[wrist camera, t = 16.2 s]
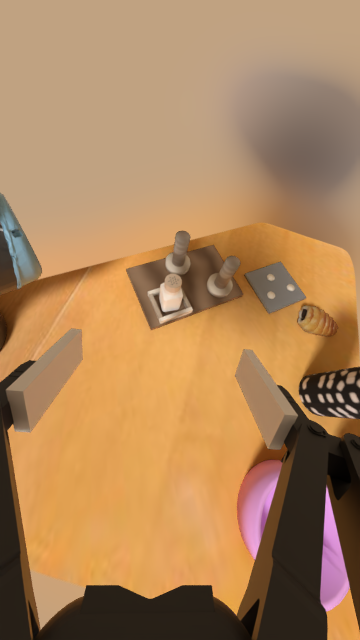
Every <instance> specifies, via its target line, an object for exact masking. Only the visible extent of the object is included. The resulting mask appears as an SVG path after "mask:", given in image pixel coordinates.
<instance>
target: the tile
mask: <svg viewBox="0 0 360 640" xmlns="http://www.w3.org/2000/svg"><path fill="white" fill-rule="evenodd" d="M245 277H246V279H247V280H248V282H249V283H250V285H251V286H252V288H253V290H254V291H255V293H256V294H257V296H258V298H259V299H260V301H261V302H262V304H263V305H264V307H265V309H266V310H267V312H268V313H269V314H270V313H272V312H275V311H277V310H279V309H282V308H284V307H287V306H289V305H291V304H294V303H296V302H298V301H301V300H303V299H305V298H306V296H305V295H304V294H303V292H302V291H301V289H300V288H299V287H298V285H297V284H296V282H295V281H294V280H293V278H292V277H291V276H290V274H289V273H288V271H287V270H286V269H285V267H284V266H283V264H282V263H281V262H278V263H275V264H272V265H269V266H266V267H263V268H260V269H257V270H254V271H252V272H249V273H246V274H245Z"/></svg>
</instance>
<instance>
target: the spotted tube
mask: <svg viewBox="0 0 360 640" xmlns="http://www.w3.org/2000/svg"><path fill="white" fill-rule="evenodd" d="M299 395H300V398H301V400H302V403H303V404H304V406H305V407H306V408H307V409H308V410H309V411H310V412H312V413H313V414H315V415H318V416H328V417H340V418H352V419H360V367H354V368H348V369H342V370H336V371H330V372H324V373H318V374H312V375H308V376H306V377H304V378H303V379H302V380H301V382H300V385H299Z"/></svg>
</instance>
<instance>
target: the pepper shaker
mask: <svg viewBox="0 0 360 640" xmlns="http://www.w3.org/2000/svg"><path fill="white" fill-rule="evenodd" d="M181 285H182V279H181V278H180V276H179V275H177V274H169V275H167V276H166V278H165V283H162V284H161V285H160V296H159V300H160V304H161V308H162V311H163V312H168V311H173V310H178V309H179V308H180V305H181V301H182V298H183V293H182V289H181Z"/></svg>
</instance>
